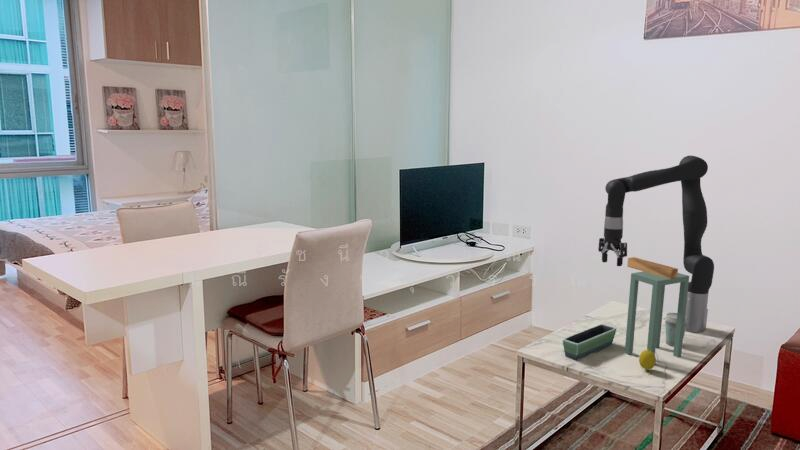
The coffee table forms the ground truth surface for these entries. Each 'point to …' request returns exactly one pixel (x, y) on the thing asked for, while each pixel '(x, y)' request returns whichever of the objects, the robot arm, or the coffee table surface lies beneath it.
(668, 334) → the coffee cup
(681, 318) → the tall green stool
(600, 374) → the coffee table surface
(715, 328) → the coffee table surface
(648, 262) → the block
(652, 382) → the coffee table surface
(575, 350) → the planter
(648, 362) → the lemon
